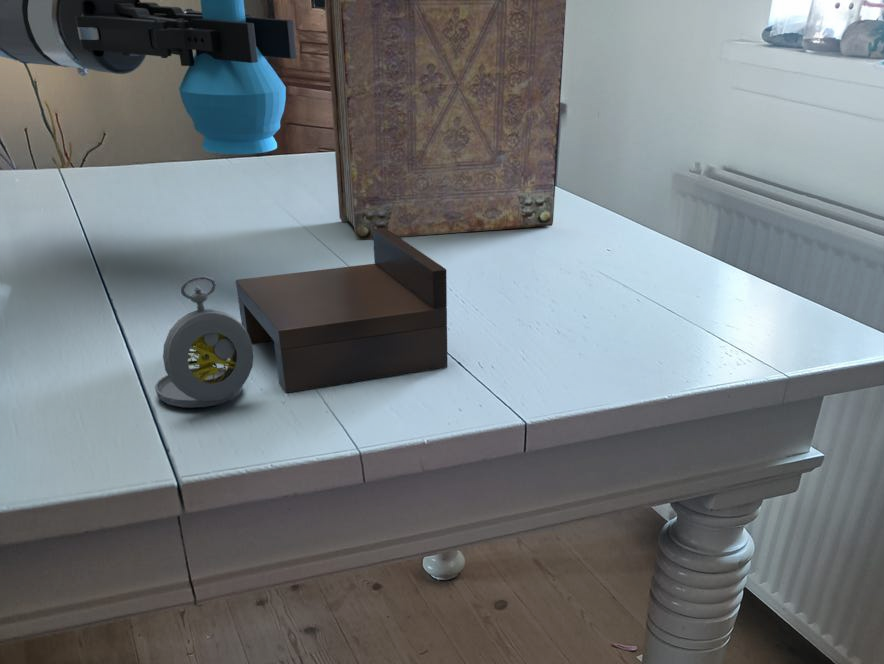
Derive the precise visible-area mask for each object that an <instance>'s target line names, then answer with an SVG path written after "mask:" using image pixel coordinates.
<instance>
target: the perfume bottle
mask: <svg viewBox="0 0 884 664" xmlns="http://www.w3.org/2000/svg"><path fill="white" fill-rule="evenodd" d="M199 2H200V9H201V12H202V16H203V19H209V20H221V21H233V22H246V19H245V14H246V12H245V11H246V10H245V2H244V0H200V1H199ZM256 49H257V58H258V62H256V63H247V62H237V61H228V60H219V59H214V58H213V57H212V56H210V55H208V54H200V55H198V56H196V52H195V53H194V54H193V57H194V65H193V66H188V68H187V70H186V72H185V74H184V76H183V78H182V81H181V83H180V85H179V88H178V90H179V94H180V99H181V102H182V104H183V107H184V109H185V111H186V113H187V114H188V116H189V118H190V119H191V121H192V123H193V128H194V130H195V131H196V132H198V133H199V134H200V135H202V137H204V139H203V143H202V149H203V150H204V151H206V152H207V153H212V154H221V155H254V154H262V153H263V154H264V153H268V152H272V151H274V150H276V149H277V148H278V142H277V140H276V139H275V137H274V135H275V134H276V133H277V132H278V131H280V129H281V120H282V117H283V114H284V111H285V106H286V99H287V87H286V86H285V84H284V82H283V81H282V79H281V78H280V77H279V76H278V74H277V72H276V71H275V70H274V68H273V67H272V66H271V64H270V63H269V62H268V60H267V59H266V57H265V56H263V55H262V54H261V52H260V51H259V49H258V48H257V46H256Z"/></svg>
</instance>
